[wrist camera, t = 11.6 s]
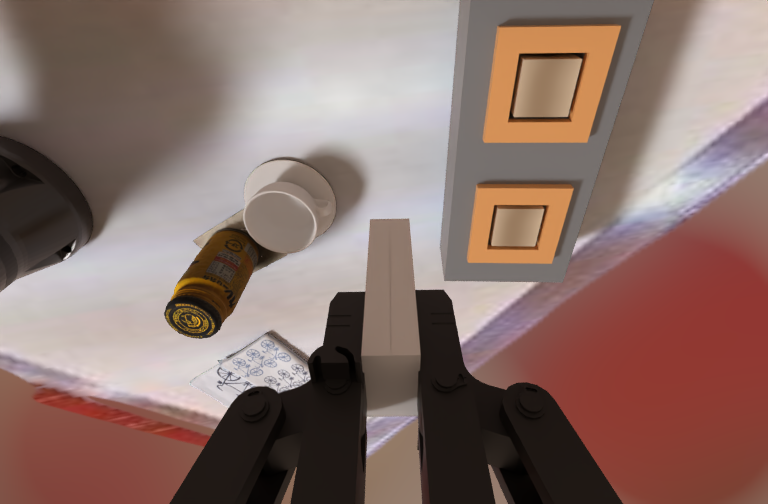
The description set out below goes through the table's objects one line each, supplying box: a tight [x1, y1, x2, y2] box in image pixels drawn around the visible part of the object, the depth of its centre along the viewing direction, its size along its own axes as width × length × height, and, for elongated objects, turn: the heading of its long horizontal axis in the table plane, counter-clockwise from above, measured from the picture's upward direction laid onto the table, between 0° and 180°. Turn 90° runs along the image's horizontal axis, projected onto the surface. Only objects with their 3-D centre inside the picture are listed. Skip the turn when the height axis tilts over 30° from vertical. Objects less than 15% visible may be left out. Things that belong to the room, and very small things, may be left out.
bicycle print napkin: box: [189, 334, 311, 408], centre depth 63 cm, size 19×20×2 cm
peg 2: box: [510, 53, 582, 117], centre depth 32 cm, size 4×4×7 cm
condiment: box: [164, 209, 287, 339], centre depth 42 cm, size 7×8×12 cm
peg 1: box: [489, 205, 544, 246], centre depth 39 cm, size 4×4×7 cm
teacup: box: [243, 160, 336, 253], centre depth 41 cm, size 10×10×5 cm
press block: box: [440, 0, 654, 282], centre depth 35 cm, size 12×26×7 cm, turn 1°
